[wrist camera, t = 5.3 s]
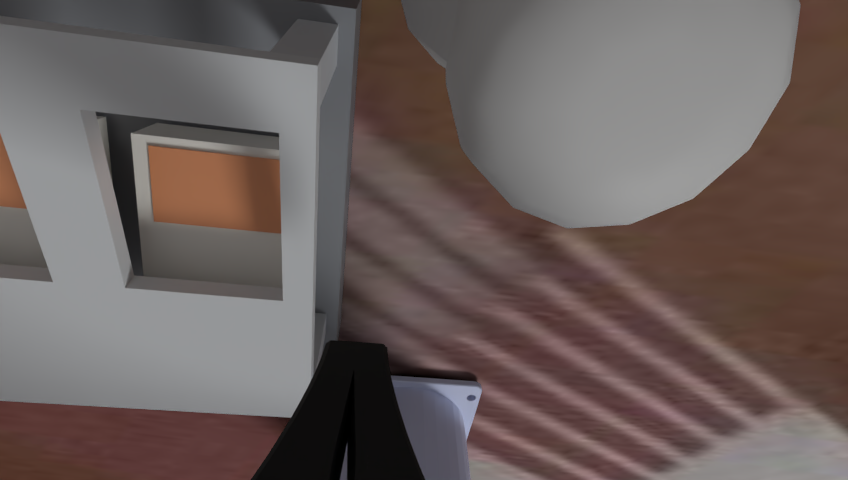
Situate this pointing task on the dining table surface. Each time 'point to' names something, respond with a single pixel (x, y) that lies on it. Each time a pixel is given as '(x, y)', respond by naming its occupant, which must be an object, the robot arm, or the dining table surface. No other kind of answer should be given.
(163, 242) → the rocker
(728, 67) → the salt shaker
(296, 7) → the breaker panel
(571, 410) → the dining table surface
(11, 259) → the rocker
